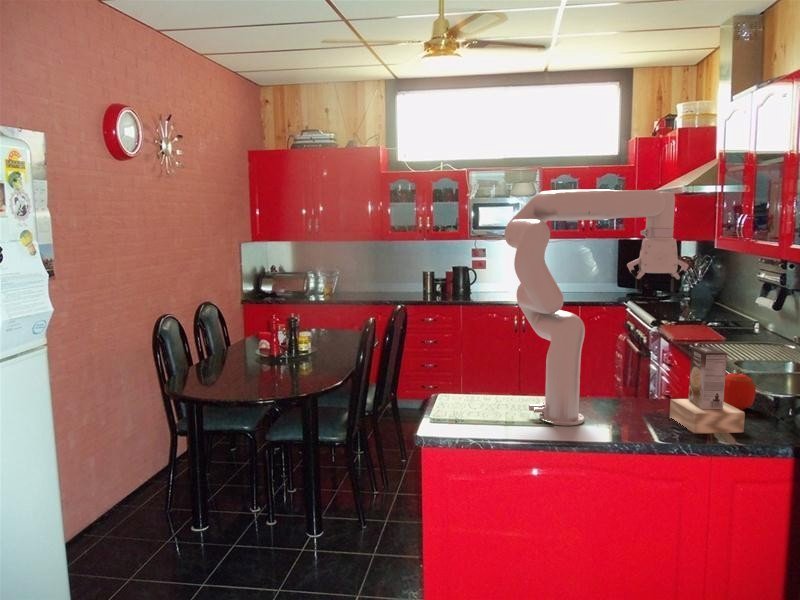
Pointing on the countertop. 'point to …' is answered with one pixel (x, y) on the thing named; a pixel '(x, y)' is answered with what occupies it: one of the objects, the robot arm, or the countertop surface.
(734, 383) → the apple
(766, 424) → the countertop surface
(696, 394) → the coffee box
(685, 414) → the beech block
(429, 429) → the countertop surface
